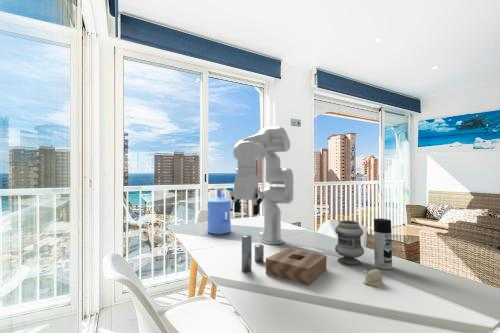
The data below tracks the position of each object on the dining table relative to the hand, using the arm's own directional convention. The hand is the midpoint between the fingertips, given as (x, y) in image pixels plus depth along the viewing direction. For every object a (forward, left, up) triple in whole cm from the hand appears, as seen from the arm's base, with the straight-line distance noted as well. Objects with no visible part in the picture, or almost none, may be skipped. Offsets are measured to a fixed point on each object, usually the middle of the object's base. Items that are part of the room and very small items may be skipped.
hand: (246, 213), depth 104 cm
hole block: (+17, +11, -23) cm, 31 cm away
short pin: (-2, +12, -23) cm, 27 cm away
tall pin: (0, 0, -23) cm, 23 cm away
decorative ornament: (+44, +18, -24) cm, 53 cm away
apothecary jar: (+31, +35, -24) cm, 53 cm away
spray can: (+44, +38, -24) cm, 63 cm away
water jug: (-55, +42, -24) cm, 73 cm away
